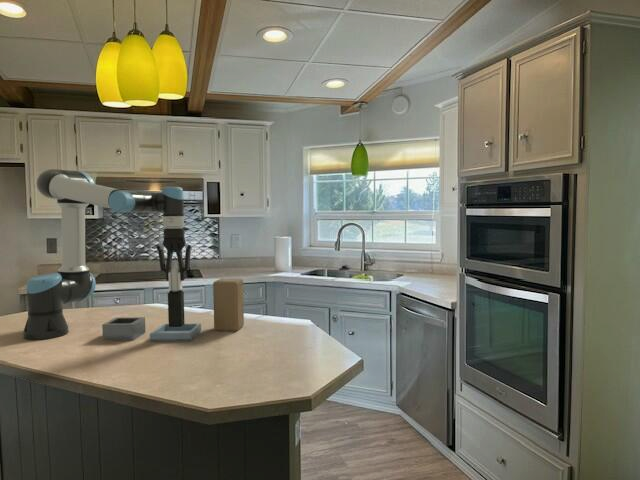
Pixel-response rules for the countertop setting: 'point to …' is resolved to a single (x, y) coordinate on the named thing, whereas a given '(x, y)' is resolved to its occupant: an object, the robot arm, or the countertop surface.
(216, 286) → the wooden block
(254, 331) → the countertop surface
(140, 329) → the collar
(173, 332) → the tray
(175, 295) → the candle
